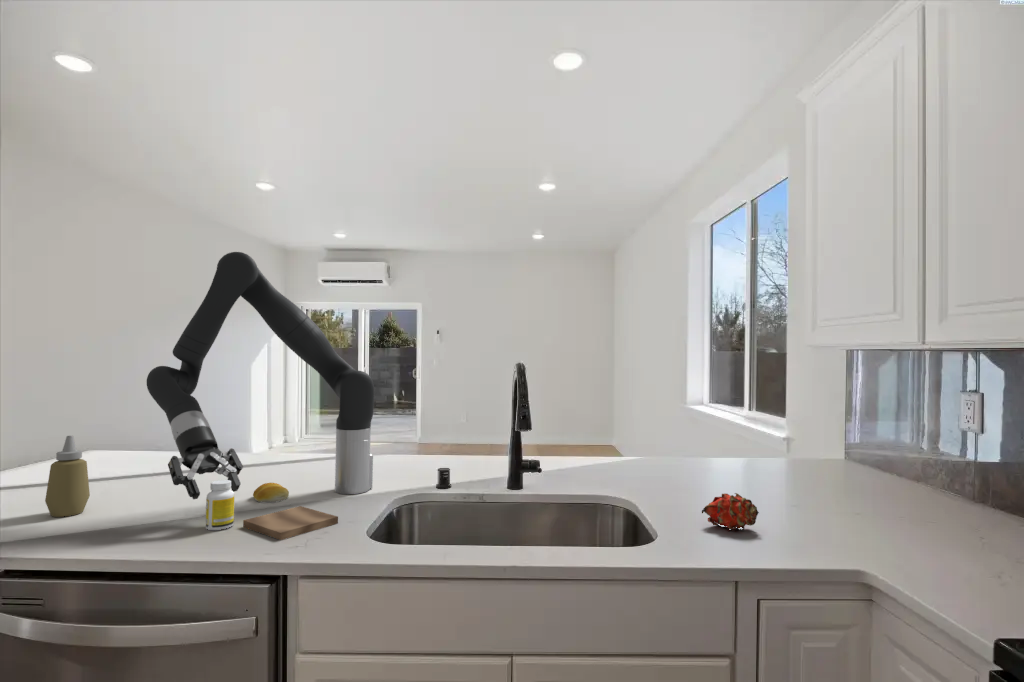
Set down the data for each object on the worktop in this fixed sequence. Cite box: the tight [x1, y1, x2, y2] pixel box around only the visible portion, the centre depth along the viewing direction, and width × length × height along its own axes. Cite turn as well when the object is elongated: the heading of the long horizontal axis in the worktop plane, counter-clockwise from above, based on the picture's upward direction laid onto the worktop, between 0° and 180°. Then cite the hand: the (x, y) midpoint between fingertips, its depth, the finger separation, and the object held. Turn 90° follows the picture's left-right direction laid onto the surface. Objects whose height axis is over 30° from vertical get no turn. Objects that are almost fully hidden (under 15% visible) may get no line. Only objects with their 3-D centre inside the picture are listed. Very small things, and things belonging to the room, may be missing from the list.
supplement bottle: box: [205, 479, 235, 531], centre depth 120 cm, size 5×5×10 cm
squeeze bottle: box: [44, 435, 91, 518], centre depth 128 cm, size 8×8×18 cm
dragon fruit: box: [701, 492, 760, 530], centre depth 123 cm, size 8×8×12 cm
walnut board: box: [242, 505, 339, 541], centre depth 121 cm, size 14×14×2 cm
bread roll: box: [252, 482, 290, 503], centre depth 143 cm, size 8×9×4 cm
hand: (217, 493), depth 120 cm, fingers open, 8 cm apart
